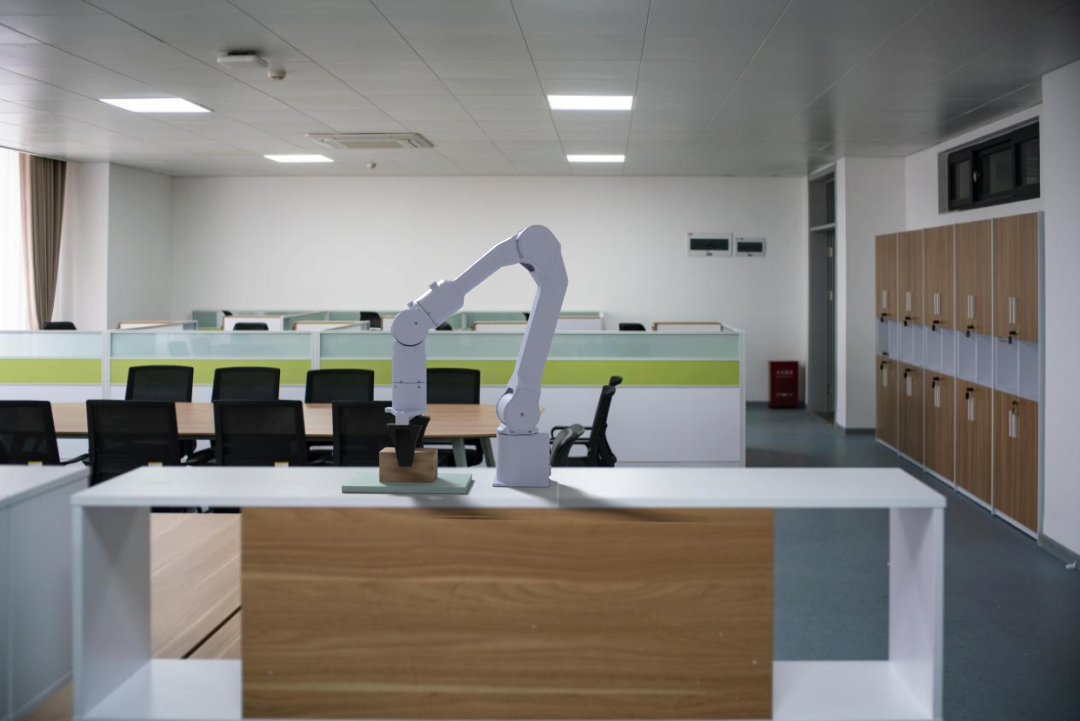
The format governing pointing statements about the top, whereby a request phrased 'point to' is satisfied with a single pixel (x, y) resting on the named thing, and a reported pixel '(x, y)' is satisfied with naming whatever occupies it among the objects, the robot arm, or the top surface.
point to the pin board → (408, 484)
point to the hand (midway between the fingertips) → (409, 462)
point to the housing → (419, 472)
